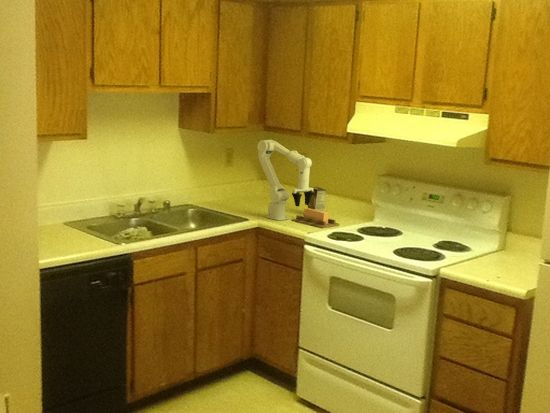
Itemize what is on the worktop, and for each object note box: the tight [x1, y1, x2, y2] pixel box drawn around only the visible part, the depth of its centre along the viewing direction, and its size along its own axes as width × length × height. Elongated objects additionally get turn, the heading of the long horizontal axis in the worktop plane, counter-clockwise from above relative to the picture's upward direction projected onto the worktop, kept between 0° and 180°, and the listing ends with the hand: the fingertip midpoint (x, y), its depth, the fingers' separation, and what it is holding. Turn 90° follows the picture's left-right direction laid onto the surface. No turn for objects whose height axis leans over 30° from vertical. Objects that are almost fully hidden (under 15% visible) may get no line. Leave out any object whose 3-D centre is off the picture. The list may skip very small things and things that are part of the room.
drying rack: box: [291, 214, 341, 229], centre depth 382 cm, size 22×14×3 cm, turn 46°
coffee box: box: [307, 186, 327, 212], centre depth 400 cm, size 9×6×16 cm
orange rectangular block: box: [303, 207, 330, 224], centre depth 382 cm, size 14×4×6 cm, turn 46°
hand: (302, 205), depth 380 cm, fingers open, 7 cm apart
